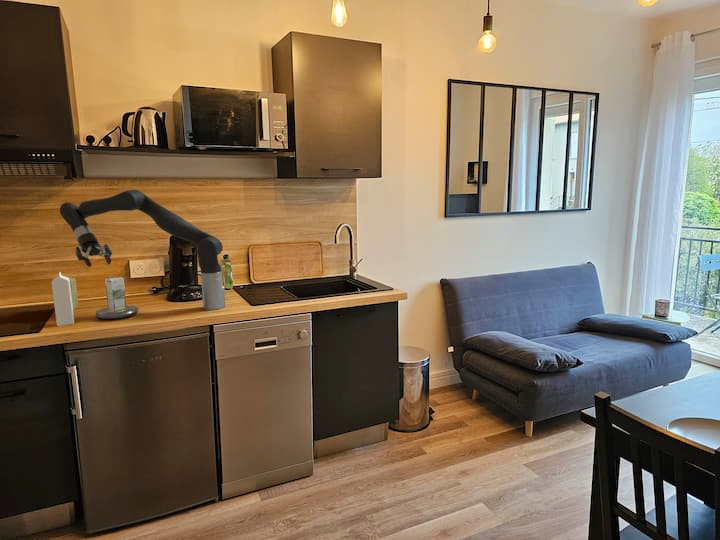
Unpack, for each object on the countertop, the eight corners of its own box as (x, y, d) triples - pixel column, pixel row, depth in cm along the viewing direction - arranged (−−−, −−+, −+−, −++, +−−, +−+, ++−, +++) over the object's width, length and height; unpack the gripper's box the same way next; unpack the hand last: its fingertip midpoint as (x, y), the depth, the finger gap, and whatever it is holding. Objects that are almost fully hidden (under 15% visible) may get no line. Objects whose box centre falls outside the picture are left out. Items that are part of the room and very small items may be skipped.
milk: (57, 326, 202) (50, 274, 198) (58, 322, 207) (51, 272, 203) (73, 324, 204) (67, 272, 200) (74, 320, 210) (68, 270, 206)
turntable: (126, 307, 228) (126, 303, 228) (145, 312, 218) (145, 308, 218) (88, 314, 215) (88, 311, 215) (107, 321, 205) (106, 317, 205)
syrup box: (120, 307, 221) (117, 276, 218) (127, 309, 217) (123, 277, 214) (107, 310, 216) (104, 278, 214) (114, 312, 213) (110, 279, 210)
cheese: (75, 317, 215) (72, 284, 212) (50, 320, 211) (45, 286, 208) (78, 307, 235) (75, 276, 232) (55, 309, 230) (51, 278, 228)
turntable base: (124, 311, 225) (124, 309, 225) (137, 315, 218) (137, 312, 218) (97, 316, 216) (97, 314, 215) (110, 321, 208) (110, 318, 208)
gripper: (71, 233, 217) (85, 261, 212) (103, 231, 228) (118, 257, 223) (67, 244, 221) (81, 271, 216) (99, 241, 232) (113, 267, 227)
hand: (100, 264), depth 220 cm, fingers open, 8 cm apart
